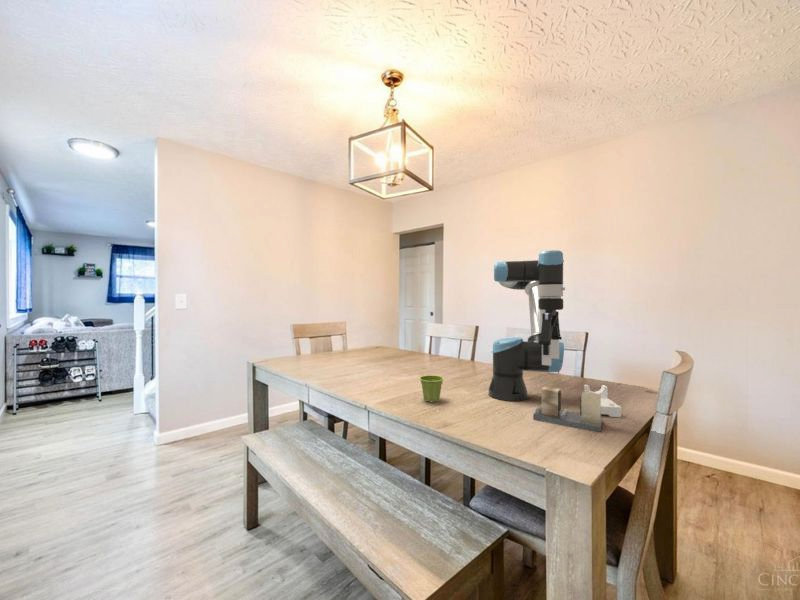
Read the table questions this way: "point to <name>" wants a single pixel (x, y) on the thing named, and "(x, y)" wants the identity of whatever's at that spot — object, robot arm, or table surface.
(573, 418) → the grey base stand
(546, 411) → the wooden block
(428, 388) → the plant pot
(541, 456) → the table surface
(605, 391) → the bracket
